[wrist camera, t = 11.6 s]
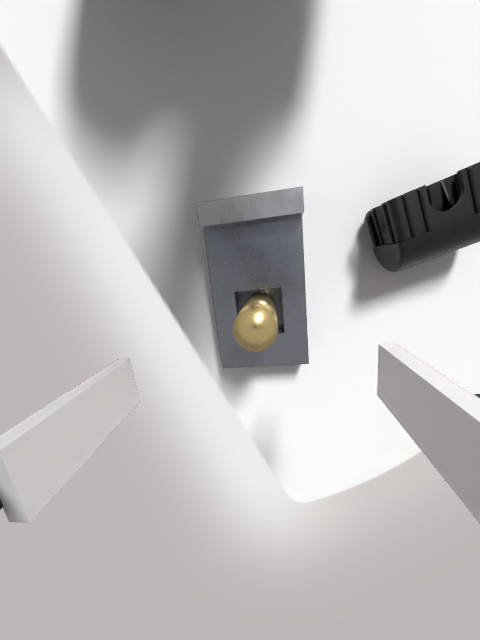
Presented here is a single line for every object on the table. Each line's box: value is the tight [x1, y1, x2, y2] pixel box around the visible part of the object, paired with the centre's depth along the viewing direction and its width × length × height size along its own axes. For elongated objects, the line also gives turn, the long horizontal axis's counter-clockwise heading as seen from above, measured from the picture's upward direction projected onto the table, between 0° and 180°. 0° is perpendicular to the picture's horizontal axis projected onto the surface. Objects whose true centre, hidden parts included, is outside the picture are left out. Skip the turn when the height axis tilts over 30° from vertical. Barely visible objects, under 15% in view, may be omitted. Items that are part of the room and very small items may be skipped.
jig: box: [196, 187, 309, 368], centre depth 29 cm, size 20×11×5 cm, turn 6°
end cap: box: [366, 162, 480, 272], centre depth 24 cm, size 10×7×7 cm
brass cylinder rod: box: [233, 293, 278, 352], centre depth 25 cm, size 4×4×10 cm
